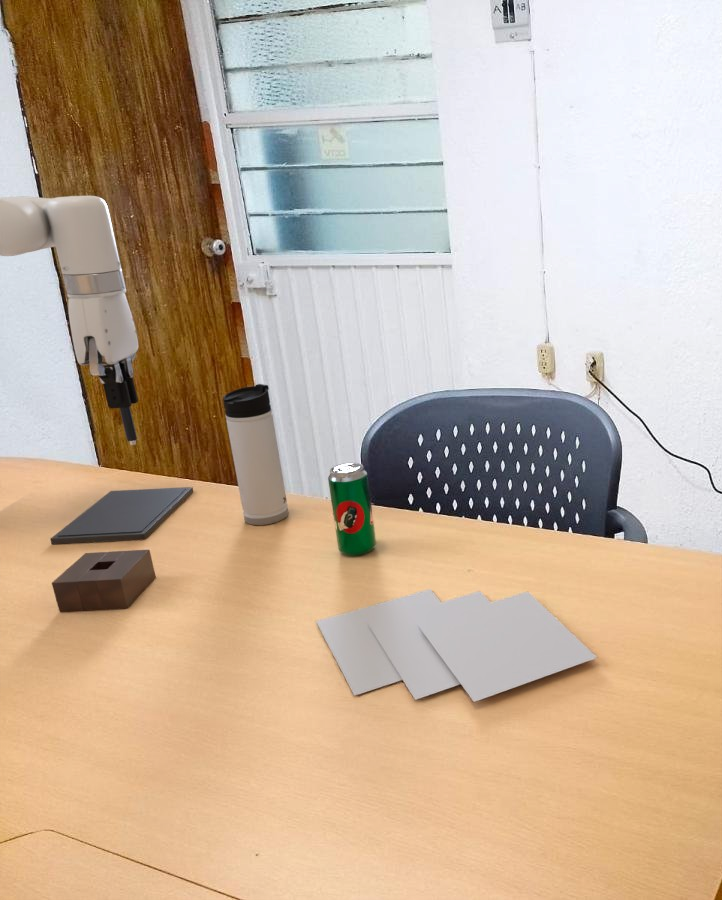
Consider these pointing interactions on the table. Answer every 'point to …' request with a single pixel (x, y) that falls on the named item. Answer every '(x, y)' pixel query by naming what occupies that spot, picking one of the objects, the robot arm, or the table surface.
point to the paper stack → (451, 644)
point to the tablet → (123, 516)
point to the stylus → (128, 424)
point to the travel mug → (256, 455)
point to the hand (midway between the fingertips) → (123, 404)
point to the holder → (104, 580)
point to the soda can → (352, 509)
